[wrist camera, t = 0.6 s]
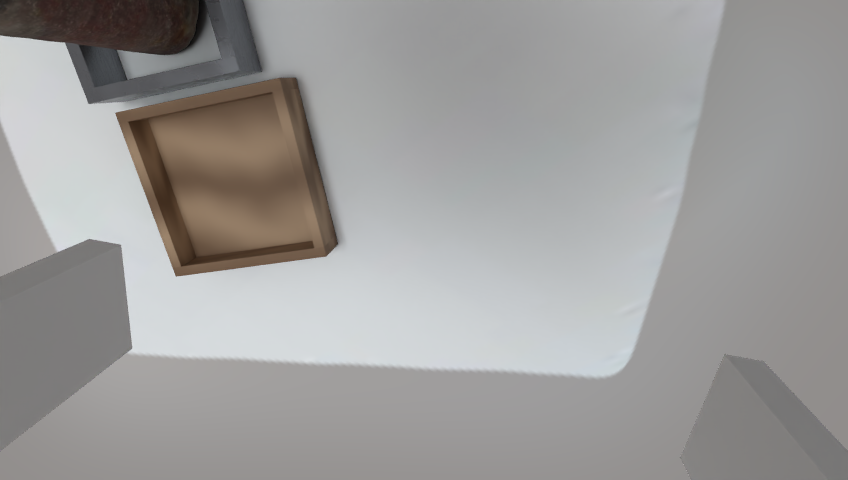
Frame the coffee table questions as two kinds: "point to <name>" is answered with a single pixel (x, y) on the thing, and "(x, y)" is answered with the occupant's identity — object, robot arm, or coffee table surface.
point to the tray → (231, 177)
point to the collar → (110, 84)
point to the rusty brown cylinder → (104, 23)
